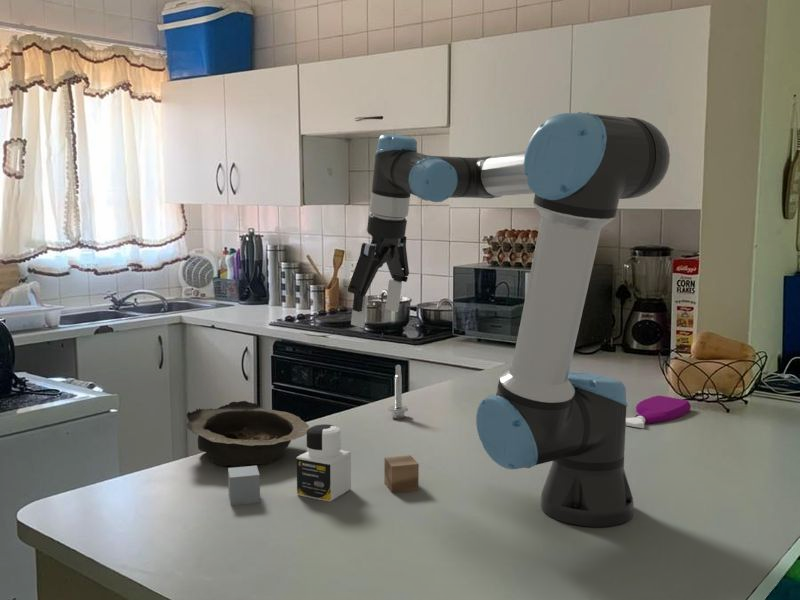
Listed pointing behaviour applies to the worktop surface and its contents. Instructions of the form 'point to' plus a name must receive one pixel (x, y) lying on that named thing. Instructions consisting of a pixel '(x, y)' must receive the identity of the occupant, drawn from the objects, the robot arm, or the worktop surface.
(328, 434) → the medicine bottle
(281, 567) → the worktop surface
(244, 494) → the slate block
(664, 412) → the spray bottle
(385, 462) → the walnut block
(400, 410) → the screw
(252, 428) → the stone bowl
